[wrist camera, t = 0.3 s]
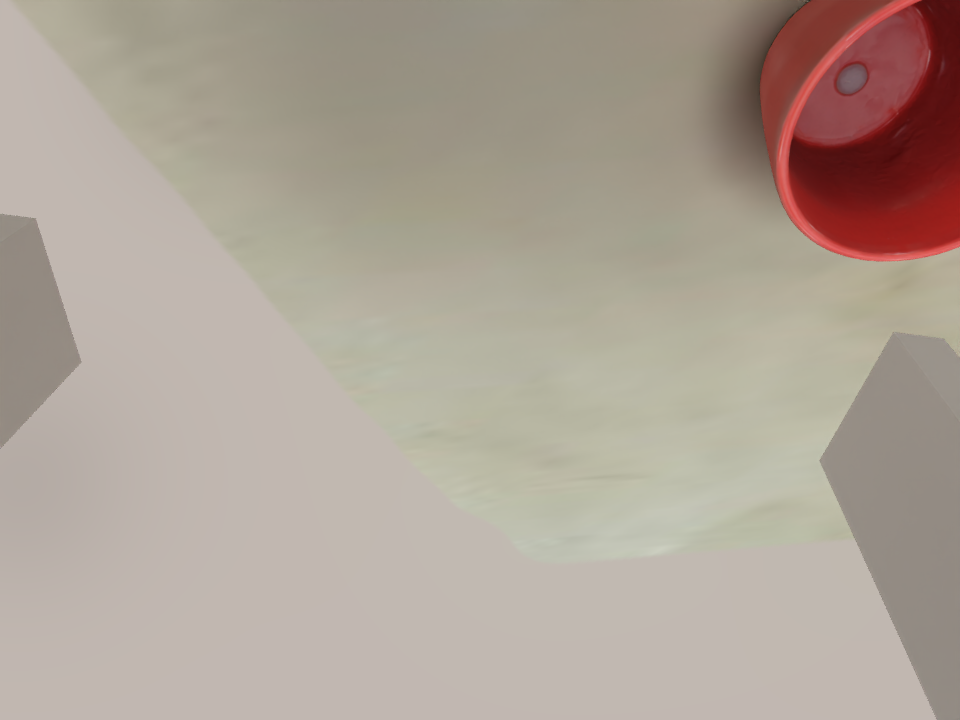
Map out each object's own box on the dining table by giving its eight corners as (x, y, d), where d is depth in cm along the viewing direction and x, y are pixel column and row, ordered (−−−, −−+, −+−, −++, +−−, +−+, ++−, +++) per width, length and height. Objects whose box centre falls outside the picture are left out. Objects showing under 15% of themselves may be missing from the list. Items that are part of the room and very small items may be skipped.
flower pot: (907, 187, 36) (1008, 278, 28) (699, 166, 36) (742, 250, 28) (1018, -45, 29) (1189, -12, 21) (765, -69, 29) (843, -45, 22)
